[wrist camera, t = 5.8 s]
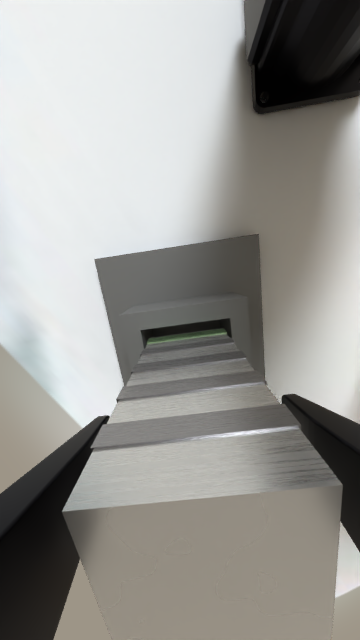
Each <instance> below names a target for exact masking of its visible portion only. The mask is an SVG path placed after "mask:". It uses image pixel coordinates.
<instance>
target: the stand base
mask: <svg viewBox="0 0 360 640" xmlns="http://www.w3.org/2000/svg"><path fill="white" fill-rule="evenodd" d="M94 260H95V264H96V268H97V272H98V277H99V281H100V285H101V289H102V294H103V298H104V302H105V306H106V310H107V315H108V319H109V323H110V327H111V332H112V336H113V340H114V344H115V348H116V353H117V357H118V361H119V365H120V370H121V374H122V378H123V382H124V386H126V385H127V383H128V381H129V379H130V377H131V371H132V369H133V367H134V365H135V364H137V363H138V361H139V360H140V358H141V356H140V354H141V352H142V350H143V349H145V348H146V346H147V341H148V339H149V338H152V337H160V336H167V335H175V334H182V333H190V332H197V331H205V330H212V329H220V328H222V329H223V328H224V329H225V330H226V332H227V335H228V336H229V338H232V339H233V340H234V342H235V345H236V347H237V348H238V349H239V351H242V352H243V353H244V354H245V355H246V357H247V361H248V362H249V364H250V365H251V366H252V368H253V369H254V370H258V372H259V373H260V374H261V375H262V376H263V378H264V379H265V368H264V345H263V323H262V300H261V277H260V254H259V234H255V235H249V236H242V237H236V238H229V239H223V240H216V241H210V242H203V243H197V244H190V245H184V246H177V247H171V248H165V249H158V250H152V251H145V252H139V253H132V254H126V255H119V256H113V257H106V258H100V259H94Z"/></svg>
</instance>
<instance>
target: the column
mask: <svg viewBox="0 0 360 640" xmlns="http://www.w3.org/2000/svg"><path fill="white" fill-rule="evenodd" d="M140 356H141V358H140V360H139V361H138V363H137V364H135V365H134V367H133V369H132V371H131V377H130V379H129V381H128V383H127V385H126V386H125V387H123V388H122V390H121V392H120V393H119V395H118V397H117V399H116V400H117V405H116V407H115V409H114V410H113V412H112V414H111V416H110V418H109V420H108V422H107V424H103V425H102V427H101V429H100V431H99V433H98V435H97V437H96V438H95V440H94V442H93V444H92V446H91V451H92V454H91V456H90V458H89V460H88V461H87V463H86V465H85V467H84V469H83V471H82V473H81V475H80V477H79V479H78V481H77V483H76V485H75V487H74V489H73V491H72V493H71V495H70V497H69V499H68V501H67V503H66V505H65V507H64V509H63V510H62V513H63V516H64V518H65V521H66V523H67V526H68V529H69V531H70V534H71V536H72V539H73V541H74V544H75V547H76V549H77V552H78V554H79V557H80V559H81V562H82V565H83V567H84V570H85V572H86V575H87V577H88V580H89V583H90V585H91V587H92V590H93V593H94V595H95V598H96V600H97V603H98V606H99V608H100V611H101V613H102V616H103V618H104V621H105V624H106V626H107V629H108V631H109V634H110V636H111V639H112V640H332V628H333V614H334V600H335V586H336V572H337V559H338V545H339V531H340V517H341V503H342V489H343V485H342V483H341V482H340V481H339V479H338V478H337V477H336V475H335V474H334V473H333V472H332V470H331V469H330V468H329V466H328V465H327V464H326V462H325V461H324V460H323V459H322V457H321V456H320V455H319V453H318V452H317V451H316V449H315V448H314V447H313V446H312V444H311V443H310V442H309V440H308V439H307V438H306V436H305V435H304V434H303V433H302V431H301V424H300V423H299V421H298V420H297V419H296V418H295V416H294V415H293V414H292V413H291V411H290V410H289V409H288V408H287V406H286V405H285V404H280V403H279V401H278V400H277V399H276V397H275V396H274V395H273V394H272V392H271V391H270V390H269V388H268V387H267V386H266V380H265V379H264V378H263V376H262V375H261V374H260V373H259V372H258V370H254V369H253V368H252V366H251V365H250V364H249V362H248V361H247V357H246V355H245V354H244V353H243V352H242V351H239V349H238V348H237V347H236V345H235V342H234V340H233V339H232V338H229V336H228V335H227V332H226V330H225V329H224V328H223V329H222V328H220V329H212V330H205V331H197V332H190V333H182V334H175V335H167V336H160V337H152V338H149V339H148V341H147V346H146V348H145V349H143V350H142V352H141V354H140Z"/></svg>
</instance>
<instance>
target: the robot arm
mask: <svg viewBox="0 0 360 640" xmlns="http://www.w3.org/2000/svg"><path fill="white" fill-rule="evenodd" d="M244 11H245V32H246V53H247V61H248V63H249V65H250V66H251V69H252V91H253V107H254V110H255V111H256V112H257V113H260V114H263V113H268V112H274V111H279V110H285V109H290V108H296V107H301V106H307V105H312V104H318V103H323V102H329V101H334V100H340V99H345V98H351V97H356V96H359V95H360V81H359V80H360V0H245V1H244ZM260 98H264V99H265V100H266V102H265V103H264V102H262V101H261V100H260ZM282 404H285V405H286V406H287V408H288V409H289V410H290V411H291V413H292V414H293V415H294V416H295V418H296V419H297V420H298V421H299V423H300V424H301V431H302V433H303V434H304V435H305V436H306V438H307V439H308V440H309V442H310V443H311V444H312V446H313V447H314V448H315V449H316V451H317V452H318V453H319V455H320V456H321V457H322V459H323V460H324V461H325V462H326V464H327V465H328V466H329V468H330V469H331V470H332V472H333V473H334V474H335V475H336V477H337V478H338V479H339V481H340V482H341V483H342V485H343V489H342V503H341V517H340V521H341V523H342V524H343V526H344V527H345V529H346V531H347V532H348V534H349V535H350V537H351V539H352V540H353V542H354V543H355V545H356V547H357V548H358V550H359V552H360V424H358V423H356V422H353V421H351V420H349V419H347V418H345V417H343V416H341V415H339V414H336V413H334V412H332V411H330V410H328V409H326V408H324V407H322V406H319V405H317V404H315V403H313V402H311V401H309V400H307V399H305V398H302V397H300V396H298V395H296V394H287V395H283V396H282ZM109 418H110V416H108V415H107V416H99V417H97V418H96V419H94V420H93V421H92V422H91V423H89V424H88V425H87V426H85V427H84V428H83V429H82V430H80V431H79V432H78V433H77V434H75V435H74V436H73V437H72V438H70V439H69V440H68V441H67V442H65V443H64V444H63V445H61V446H60V447H59V448H58V449H56V450H55V451H54V452H53V453H51V454H50V455H49V456H48V457H46V458H45V459H44V460H43V461H41V462H40V463H39V464H38V465H36V466H35V467H34V468H32V469H31V470H30V471H29V472H27V473H26V474H25V475H24V476H22V477H21V478H20V479H18V480H17V481H16V482H15V483H13V484H12V485H11V486H10V487H8V488H7V489H6V490H5V491H3V492H2V493H1V494H0V640H53V639H54V636H55V633H56V630H57V627H58V624H59V620H60V618H61V614H62V611H63V609H64V605H65V602H66V599H67V596H68V593H69V590H70V587H71V584H72V581H73V578H74V575H75V572H76V569H77V566H78V563H79V560H80V557H79V554H78V552H77V549H76V547H75V544H74V541H73V539H72V536H71V534H70V531H69V529H68V526H67V523H66V521H65V518H64V516H63V513H62V510H63V509H64V507H65V505H66V503H67V501H68V499H69V497H70V495H71V493H72V491H73V489H74V487H75V485H76V483H77V481H78V479H79V477H80V475H81V473H82V471H83V469H84V467H85V465H86V463H87V461H88V460H89V458H90V456H91V454H92V451H91V446H92V444H93V442H94V440H95V438H96V437H97V435H98V433H99V431H100V429H101V427H102V425H103V424H107V422H108V420H109Z"/></svg>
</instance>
